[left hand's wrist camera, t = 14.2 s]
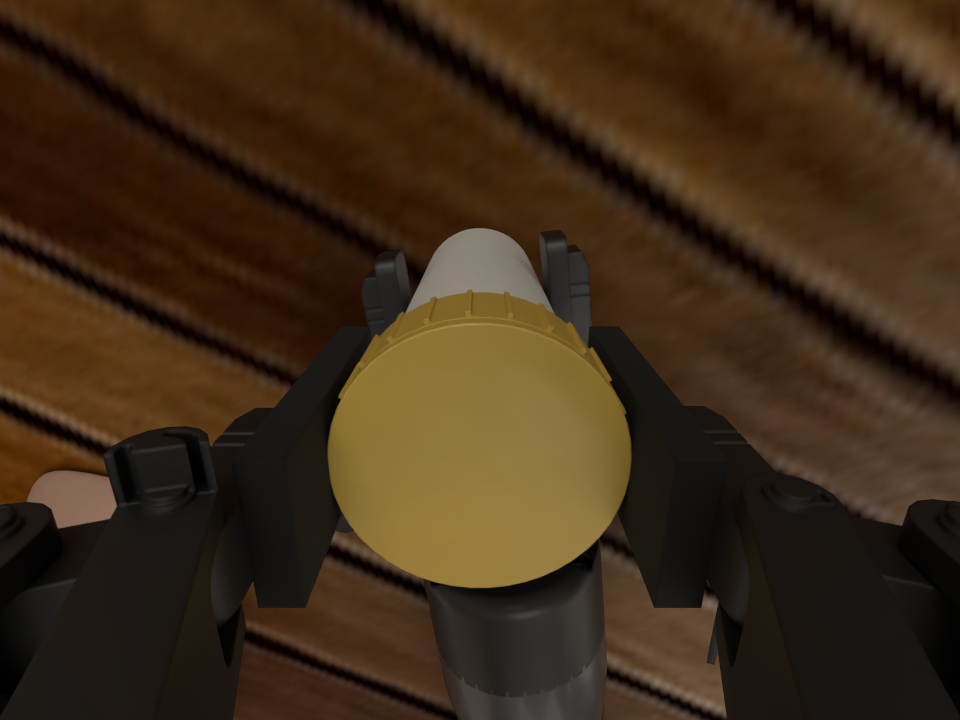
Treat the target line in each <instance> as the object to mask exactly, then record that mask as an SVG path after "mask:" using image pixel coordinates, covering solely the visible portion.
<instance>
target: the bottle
mask: <svg viewBox="0 0 960 720" xmlns="http://www.w3.org/2000/svg"><path fill="white" fill-rule="evenodd" d="M467 290H472V292H490V293H497V294H504V292H509V293H510V296H513V297H517V298H521V299H524V300H527V301H529V302H532V303H534V304H537V305H538V304H539V303H542V304H544V306H545V308H546V310H548V311H550V312H552V313H553V314H554V312H553V310H552V307H551V305H550V303H549V301H548V299H547V297H546V295H545V293H544V291H543V289H542V286H541V284H540V282H539V280H538V278H537V276H536V274H535V272H534V270H533V268H532V265H531V263H530V261H529V259H528V257H527V255H526V254H525V252H524V251H523V249H522V248H521V247H520V246H519V245H518V244H517V243H516V242H515V241H514V240H513V239H511V238H510V237H509V236H507V235H505V234H503V233H501V232H498V231H495V230H491V229H485V228H474V229H468V230H465V231H461V232H459V233H457V234H455V235H453V236H451V237H450V238H448V239H447V240H446V241H445V242H443V243H442V244H441V245H440V247H439V248H438V249H437V250H436V252H435V253H434V255H433V257H432V259H431V261H430V263H429V265H428V267H427V269H426V271H425V273H424V275H423V277H422V280H421V282H420V284H419V286H418V288H417V290H416V292H415V294H414V296H413V298H412V300H411V302H410V305H409V307H408V309H407V311H406V313H408V312H409V311H411V310H413V309H415V308H416V307H418V306H420V305H423V304H425V303H427V302H430V299H431V298H432V297H435V296H436V298H437V299H438V298H442V297H446V296H449V295H454V294H462V293H467ZM406 313H405V314H406Z"/></svg>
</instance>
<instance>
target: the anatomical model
mask: <svg viewBox="0 0 960 720" xmlns="http://www.w3.org/2000/svg"><path fill="white" fill-rule="evenodd" d="M27 502H34V503H43V504H45V505H46V506H48V507H49V508H51V509H52V512H53V515H54V518H55V521H56V524H57V527H58V528H64V527H69V526H74V525H80V524H85V523H91V522H96V521H101V520H106V519H110V518H111V516H112V514H113V512H114V511H115V509H116V507H117V505H116V501H115V498H114V494H113V491H112V487H111V484H110V480H109V477H106V476H101V475H96V474H92V473H85V472H77V471H68V470H62V471H53V472H49V473H46V474H44V475H43V476H41V477H40V478H39V479H38V480H37V481H36V482H35V484H34V485H33V487H32V489H31V491H30V494H29V496H28V499H27Z"/></svg>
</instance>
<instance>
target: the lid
mask: <svg viewBox="0 0 960 720" xmlns="http://www.w3.org/2000/svg"><path fill="white" fill-rule="evenodd" d="M610 381H612V379H611V377H610V375H609V374H608V372H607V370H606V369H605V367H604V365H603V364H602V362H601V360H600V359H599V357H598V355H597V354H596V352H595V350H594V349H593V347H592V348H590V349H589V348H588V347H587V345H586V344H585V343H584V341H583V340H582V339H581V337H580V336H579V334H578V332H577V331H576V329H575V327H574V325H573V324H572V323H571V322H569V323H568V324H567V323H565V322H564V321H563V320H561V319H560V318H559V317H558V316H556V315H555V314H553V313H552V312H550V311H548V310H546V308H545V306H544V304H542V303H539V304H538V305H537V304H534V303H532V302H529V301H527V300H524V299H521V298H517V297H513V296H510V293H509V292H504V294H497V293H490V292H472V290H467V293H462V294H454V295H449V296H446V297H442V298H438V299H437V298H436V296H435V297H432V298H431V299H430V302H427V303H425V304H423V305H420V306H418V307H416V308H415V309H413V310H411V311H409V312H408V313H406V314H404V312H401V313H400V314H399V315H398V317H397V319H396V321H395V322H394V323H393V324H391V325H390V326H389V327H388V328H387V329H386V330H385V331H384V332H383V333H382V334H381V335H380V336H378V335H377V334H376V335H375V337H374V338H373V340H372V341H371V343H370V345H369V346H368V348H367V350H366V351H365V353H364V355H363V356H362V358H361V360H360V362H358V364H357V365H356V367H355V369H354V370H353V372H352V374H351V375H350V377H349V379H348V380H347V382H346V384H345V385H344V387H343V389H342V390H341V392H340V394H339V396H338V398H340V399H341V401H340V403H339V405H338V406H337V409H336V412H335V414H334V417H333V420H332V423H331V427H330V432H329V438H328V446H327V454H328V464H329V473H330V481H331V486H332V489H333V493H334V496H335V498H336V500H337V503H338V505H339V507H340V510H341V511H342V513H343V515H344V516H345V518H346V520H347V521H348V523H349V525H350V526H351V527H352V528H353V530H354V531H355V532H356V533H357V535H358V536H359V537H360V538H361V539H362V540H363V541H364V542H365V543H366V544H367V545H368V546H369V547H370V548H371V549H372V550H373V551H375V552H376V553H377V554H379V555H380V556H381V557H383V558H384V559H385V560H387V561H388V562H390V563H392V564H393V565H395V566H397V567H398V568H400V569H402V570H404V571H406V572H408V573H411V574H413V575H415V576H417V577H420V578H423V579H426V580H430V581H433V582H436V583H441V584H446V585H450V586H457V587H467V588H492V587H501V586H509V585H514V584H518V583H523V582H527V581H530V580H533V579H536V578H539V577H542V576H544V575H546V574H548V573H551V572H553V571H555V570H557V569H559V568H561V567H562V566H564V565H566V564H568V563H569V562H571V561H573V560H574V559H575V558H577V557H578V556H579V555H581V554H582V553H583V552H584V551H586V550H587V549H588V548H589V547H590V546H591V545H592V544H593V543H594V542H595V541H596V540H597V539H598V538H599V537H600V536H601V535H602V533H603V532H604V531H605V530H606V528H607V527H608V526H609V525H610V523H611V522H612V520H613V518H614V517H615V515H616V513H617V511H618V510H619V508H620V505H621V503H622V501H623V498H624V496H625V493H626V490H627V486H628V482H629V478H630V469H631V461H632V446H631V437H630V432H629V427H628V423H627V420H626V417H625V415H624V414H626V411H625V408H624V406H623V405H622V403H621V401H620V400H619V398H618V396H617V394H616V393H615V391H614V389H613V387H612V386H611V384H610Z"/></svg>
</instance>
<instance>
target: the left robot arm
mask: <svg viewBox="0 0 960 720" xmlns="http://www.w3.org/2000/svg"><path fill="white" fill-rule="evenodd" d="M370 343H371V329H370V327H340V328H339V330H338V331H337V332H336V333H335V335H334V336H333V337H332V338H331V339H330V341H329V342H328V343H327V344H326V346H325V347H324V348H323V349H322V350H321V352H320V353H319V354H318V355H317V357H316V358H315V359H314V360H313V361H312V363H311V364H310V365H309V366H308V368H307V369H306V370H305V371H304V372H303V374H302V375H301V376H300V377H299V379H298V380H297V381H296V382H295V383H294V385H293V386H292V387H291V388H290V390H289V391H288V392H287V393H286V394H285V396H284V397H283V398H282V399H281V401H280V402H279V403H278V404H277V405H276V407H275V408H255V409H253V410H251V411H250V412H248V413H246V414H244V415H242V416H241V417H239V418H237V419H235V420H234V421H233V422H232V424H231V425H230V426H229V427H228V428H227V429H226V430H225V431H224V432H223V435H220V436H219V438H218V439H217V440H216V441H215V442H214V443H213V446H210V444H209V439H208V434H207V433H205V432H204V431H202V430H201V429H198V428H192V427H186V426H184V427H166V428H161V429H156V430H150V431H147V432H144V433H141V434H138V435H135V436H132V437H129V438H127V439H125V440H123V441H121V442H119V443H117V444H116V445H114V446H112V447H111V448H110V449H109V450H108V451H107V452H106V453H105V454H103V455H102V456H103V459H104V463H105V466H106V470H107V473H108V477H109V480H110V484H111V487H112V491H113V494H114V498H115V501H116V505H117V507H116V509H115V511H114V512H113V514H112V516H111V518H110V519H106V520H101V521H96V522H91V523H85V524H80V525H74V526H69V527H64V528H58V527H57V524H56V521H55V518H54V515H53V512H52V509H51V508H49V507H48V506H46V505H45V504H43V503H34V502H22V503H14V504H3V505H0V720H233V715H234V708H235V701H236V693H237V686H238V679H239V672H240V664H241V657H242V650H243V643H244V635H245V628H246V625H245V618H244V612H243V607H242V603H241V602H242V601H243V599H244V597H245V595H246V593H247V591H248V589H249V587H250V586H251V584H252V582H253V581H254V587H255V592H256V597H257V603H258V608H305V607H306V605H307V602H308V599H309V597H310V594H311V592H312V589H313V587H314V584H315V581H316V579H317V576H318V574H319V571H320V568H321V566H322V563H323V561H324V558H325V556H326V553H327V550H328V548H329V545H330V543H331V540H332V537H333V535H334V532H335V530H336V527H337V525H338V522H339V519H340V517H341V514H342V511H341V510H340V507H339V505H338V503H337V500H336V498H335V496H334V493H333V489H332V486H331V481H330V473H329V464H328V454H327V446H328V438H329V432H330V427H331V423H332V420H333V417H334V414H335V412H336V409H337V406H338V405H339V403H340V401H341V399H340V398H338V396H339V394H340V392H341V390H342V389H343V387H344V385H345V384H346V382H347V380H348V379H349V377H350V375H351V374H352V372H353V370H354V369H355V367H356V365H357V364H358V362H360V360H361V358H362V356H363V355H364V353H365V351H366V350H367V348H368V346H369V345H370ZM592 347H593V349H594V350H595V352H596V354H597V355H598V357H599V359H600V360H601V362H602V364H603V365H604V367H605V369H606V370H607V372H608V374H609V375H610V377H611V379H612V381H610V384H611V386H612V387H613V389H614V391H615V393H616V394H617V396H618V398H619V400H620V401H621V403H622V405H623V406H624V408H625V411H626V414H624V415H625V417H626V420H627V423H628V427H629V432H630V437H631V446H632V461H631V469H630V478H629V482H628V486H627V490H626V493H625V496H624V498H623V501H622V503H621V505H620V508H619V510H618V511H617V512H618V515H619V518H620V520H621V523H622V525H623V528H624V531H625V533H626V536H627V538H628V541H629V543H630V546H631V549H632V551H633V554H634V556H635V559H636V562H637V564H638V567H639V569H640V572H641V574H642V577H643V580H644V582H645V585H646V587H647V590H648V593H649V595H650V598H651V600H652V603H653V605H654V608H701V606H702V601H703V596H704V590H705V585H706V580H708V582H709V583H710V585H711V587H712V589H713V591H714V593H715V595H716V596H717V598H718V600H719V603H718V607H717V612H716V617H715V622H714V627H713V632H712V637H711V642H710V647H709V652H708V659H707V663H710V664H714V665H715V660H716V655H717V653H718V656H719V663H720V670H721V678H722V685H723V692H724V699H725V706H726V714H727V720H960V502H956V501H943V500H935V499H930V500H920V501H916V502H915V503H913V504H912V505H910V506H909V507H908V510H907V513H906V516H905V519H904V522H903V525H902V526H899V525H894V524H889V523H883V522H878V521H872V520H867V519H861V518H856V517H852V516H849V515H848V513H847V511H846V510H845V508H844V506H843V505H842V504H841V503H840V501H839V500H838V499H837V498H836V497H835V496H834V495H833V494H831V493H830V492H828V491H827V490H825V489H824V488H822V487H820V486H819V485H816V484H814V483H811V482H809V481H806V480H804V479H801V478H798V477H794V476H789V475H785V474H777V473H776V472H775V471H774V470H773V469H772V467H771V466H770V465H769V464H768V463H767V462H766V461H765V460H764V459H763V458H762V457H761V456H760V455H759V454H758V453H757V451H756V450H755V449H754V448H753V447H752V446H751V445H750V444H747V441H746V440H745V439H744V438H743V437H742V436H741V434H740V433H737V430H736V429H735V428H734V427H733V426H732V425H731V424H730V423H729V422H728V421H727V420H726V418H725V417H723V416H721V415H719V414H717V413H716V412H714V411H712V410H710V409H708V408H706V407H705V406H683V405H682V403H681V402H680V401H679V400H678V399H677V397H676V396H675V395H674V394H673V392H672V391H671V390H670V389H669V387H668V386H667V385H666V384H665V383H664V381H663V380H662V379H661V378H660V376H659V375H658V374H657V373H656V372H655V370H654V369H653V368H652V367H651V365H650V364H649V363H648V362H647V361H646V359H645V358H644V357H643V356H642V354H641V353H640V352H639V351H638V350H637V348H636V347H635V346H634V345H633V343H632V342H631V341H630V340H629V339H628V337H627V336H626V335H625V334H624V332H623V331H622V330H621V329H620V328H619V327H589V338H588V348H589V349H590V348H592Z"/></svg>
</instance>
